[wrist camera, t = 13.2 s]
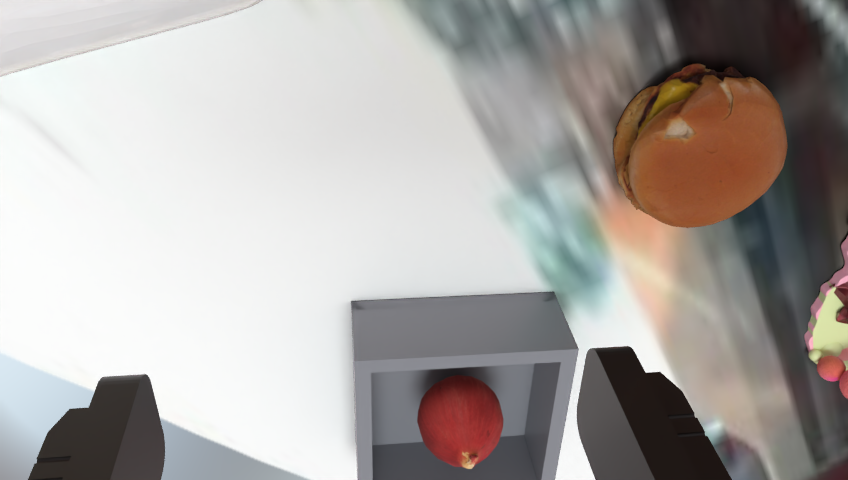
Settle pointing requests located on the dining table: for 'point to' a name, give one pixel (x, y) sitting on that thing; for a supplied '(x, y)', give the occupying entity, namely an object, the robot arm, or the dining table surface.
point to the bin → (469, 356)
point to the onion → (460, 420)
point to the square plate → (92, 25)
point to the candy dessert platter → (831, 328)
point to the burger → (699, 146)
